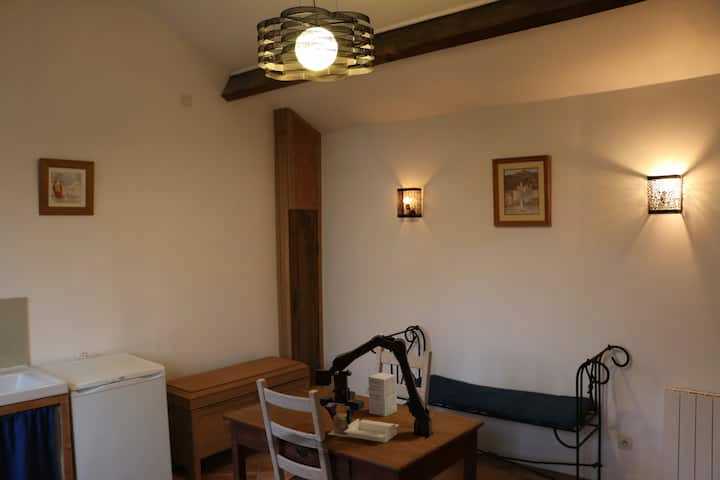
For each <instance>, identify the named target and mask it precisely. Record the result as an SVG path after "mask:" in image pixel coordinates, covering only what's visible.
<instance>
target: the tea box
mask: <svg viewBox="0 0 720 480" xmlns="http://www.w3.org/2000/svg"><path fill="white" fill-rule="evenodd" d="M333 417H334V422H333V430H334V433H336V434H343V435H345V434H347V433H346V432H344V431H345V430H347V429H348V422H347V413H346V412H338V413H336V415H335V416H333Z"/></svg>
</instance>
